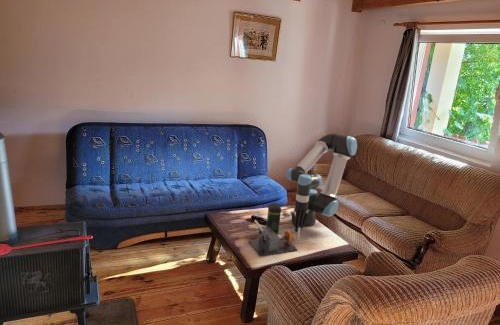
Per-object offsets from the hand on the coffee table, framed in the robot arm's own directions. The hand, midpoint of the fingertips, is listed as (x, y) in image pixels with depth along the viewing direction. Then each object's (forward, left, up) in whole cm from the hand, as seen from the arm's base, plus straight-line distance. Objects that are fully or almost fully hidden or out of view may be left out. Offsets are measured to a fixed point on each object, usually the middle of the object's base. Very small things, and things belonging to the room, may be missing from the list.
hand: (297, 236), depth 215 cm
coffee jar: (+8, -17, -5) cm, 19 cm away
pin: (+13, 0, -2) cm, 13 cm away
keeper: (+26, 0, +9) cm, 28 cm away
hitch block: (+16, 0, -4) cm, 17 cm away
